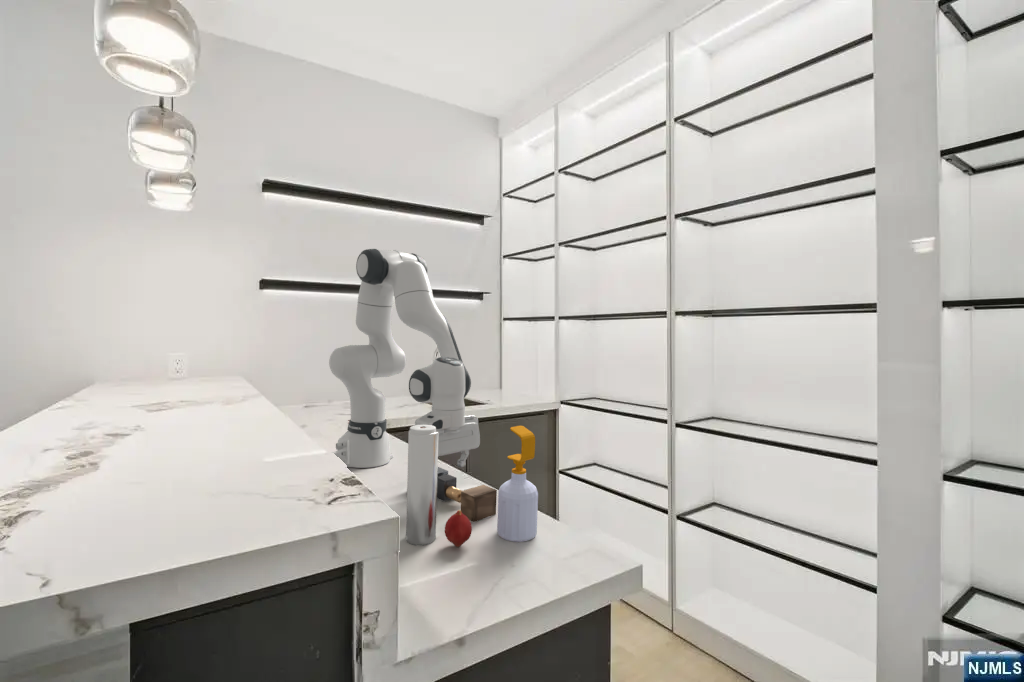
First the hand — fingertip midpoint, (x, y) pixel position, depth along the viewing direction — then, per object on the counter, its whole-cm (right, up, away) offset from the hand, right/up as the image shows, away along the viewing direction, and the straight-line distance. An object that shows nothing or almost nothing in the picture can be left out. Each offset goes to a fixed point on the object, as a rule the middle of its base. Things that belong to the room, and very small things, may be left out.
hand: (447, 469), depth 128 cm
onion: (+6, -10, -25) cm, 28 cm away
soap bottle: (+18, -10, -18) cm, 28 cm away
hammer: (-2, -7, +2) cm, 8 cm away
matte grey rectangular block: (-6, -8, +6) cm, 11 cm away
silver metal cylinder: (-3, -9, -23) cm, 25 cm away
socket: (+9, -9, -9) cm, 15 cm away
